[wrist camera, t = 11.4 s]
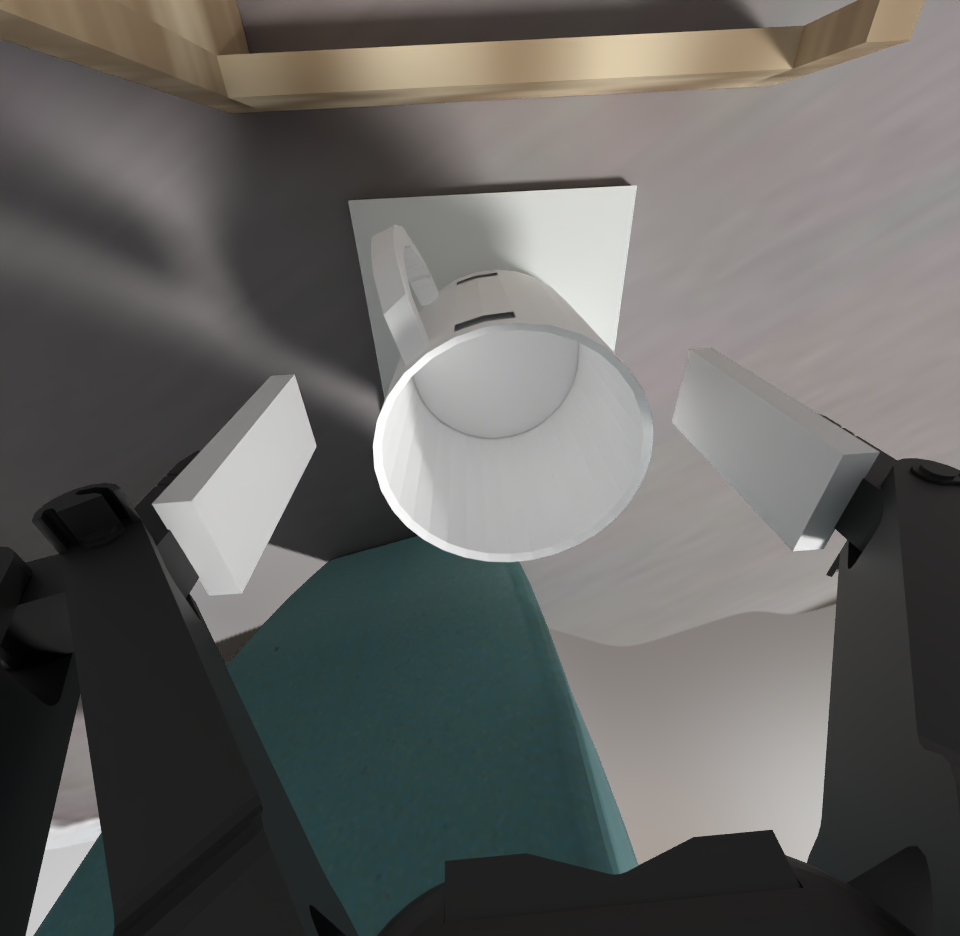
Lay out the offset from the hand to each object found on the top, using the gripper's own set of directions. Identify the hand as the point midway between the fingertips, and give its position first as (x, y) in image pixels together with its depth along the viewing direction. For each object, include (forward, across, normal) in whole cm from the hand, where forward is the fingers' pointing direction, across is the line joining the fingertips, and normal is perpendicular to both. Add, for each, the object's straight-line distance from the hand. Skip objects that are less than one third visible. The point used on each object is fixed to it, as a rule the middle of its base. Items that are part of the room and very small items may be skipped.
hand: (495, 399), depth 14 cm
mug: (+8, 0, 0) cm, 8 cm away
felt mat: (+8, +1, 0) cm, 8 cm away
